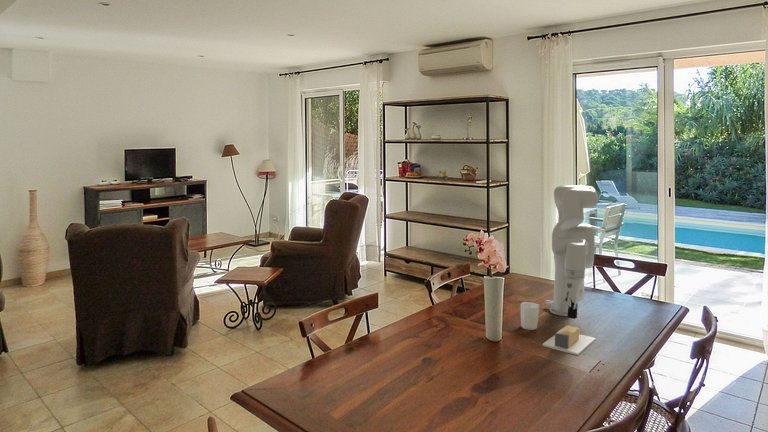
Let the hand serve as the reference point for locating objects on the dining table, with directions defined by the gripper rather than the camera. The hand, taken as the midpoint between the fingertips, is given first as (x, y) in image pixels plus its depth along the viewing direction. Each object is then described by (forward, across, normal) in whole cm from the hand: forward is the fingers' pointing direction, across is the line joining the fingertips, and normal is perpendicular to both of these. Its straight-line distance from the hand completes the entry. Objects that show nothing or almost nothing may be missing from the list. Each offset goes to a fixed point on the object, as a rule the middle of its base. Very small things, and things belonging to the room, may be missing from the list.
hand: (572, 317), depth 205 cm
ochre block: (+7, +2, 0) cm, 7 cm away
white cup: (+10, +5, +20) cm, 23 cm away
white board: (+10, -1, 0) cm, 10 cm away
